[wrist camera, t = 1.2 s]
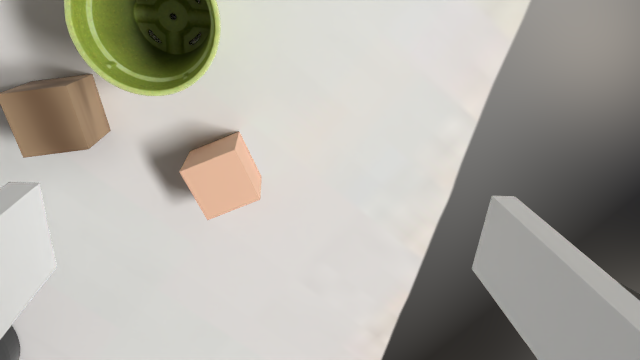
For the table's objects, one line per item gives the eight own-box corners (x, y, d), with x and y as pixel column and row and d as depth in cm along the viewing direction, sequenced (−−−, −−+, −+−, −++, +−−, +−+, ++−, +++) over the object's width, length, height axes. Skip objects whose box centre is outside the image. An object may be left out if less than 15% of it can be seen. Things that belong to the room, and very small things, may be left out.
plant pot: (87, 13, 33) (30, 18, 25) (164, -80, 31) (127, -105, 23) (181, 96, 37) (156, 124, 29) (255, 17, 35) (251, 24, 27)
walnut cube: (53, 137, 37) (23, 157, 32) (31, 81, 35) (-4, 94, 30) (111, 130, 37) (88, 149, 33) (92, 73, 35) (66, 85, 31)
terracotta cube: (214, 195, 41) (207, 220, 36) (190, 151, 39) (179, 171, 34) (261, 176, 41) (260, 199, 36) (239, 131, 39) (234, 149, 34)
